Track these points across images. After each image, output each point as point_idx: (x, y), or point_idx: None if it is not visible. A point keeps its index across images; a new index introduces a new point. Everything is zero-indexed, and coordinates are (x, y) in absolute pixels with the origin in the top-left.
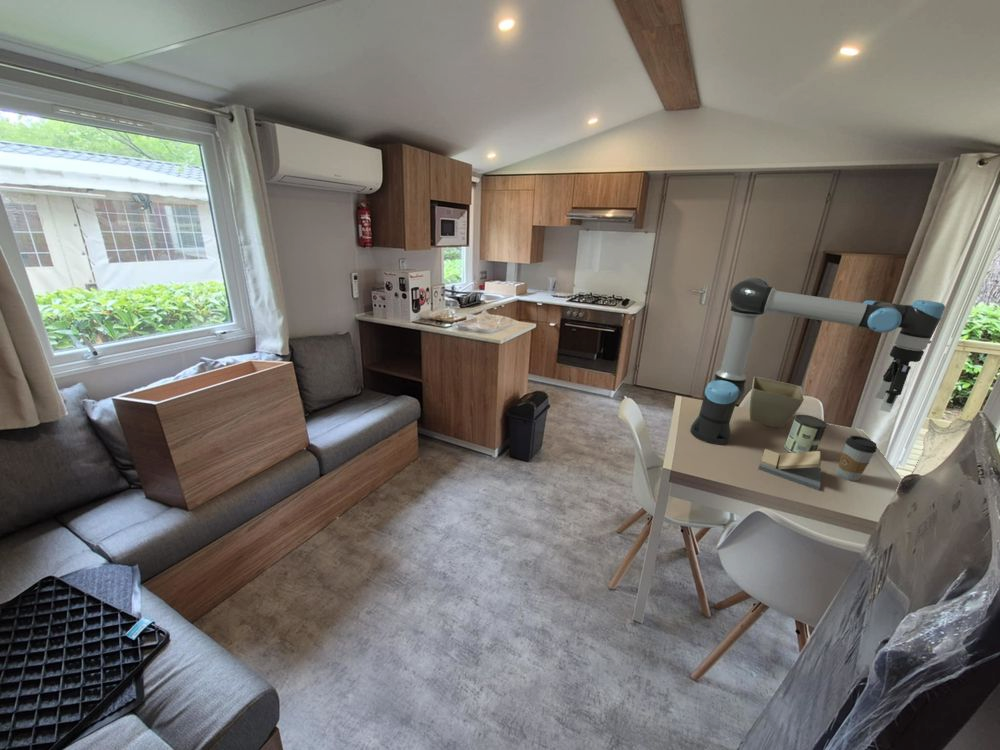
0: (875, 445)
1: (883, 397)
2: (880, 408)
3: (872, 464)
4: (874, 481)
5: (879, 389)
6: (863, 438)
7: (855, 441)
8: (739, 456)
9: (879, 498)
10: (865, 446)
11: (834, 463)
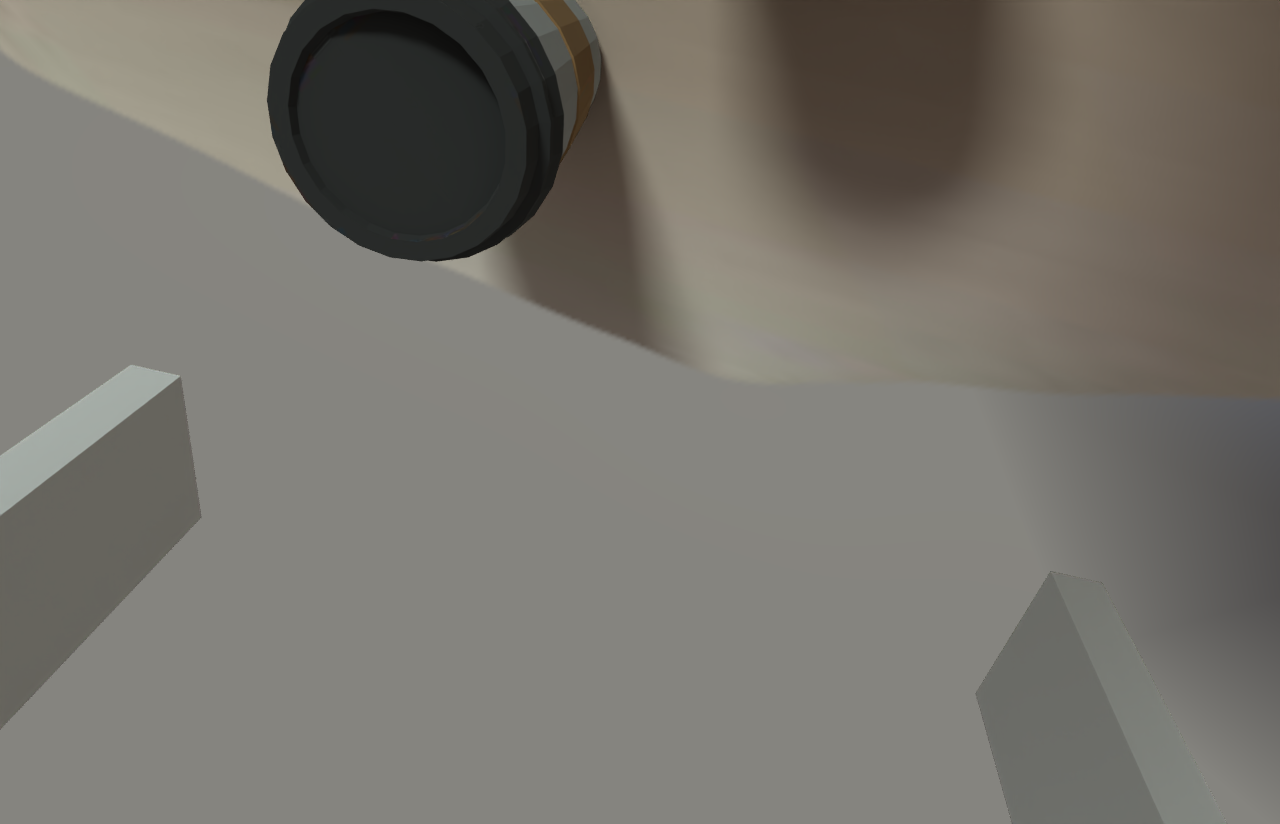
0: (360, 239)
1: (1003, 705)
2: (108, 392)
3: (870, 322)
4: (574, 247)
5: (1139, 788)
6: (506, 168)
7: (301, 26)
8: None
9: None
10: (274, 123)
11: (724, 9)
